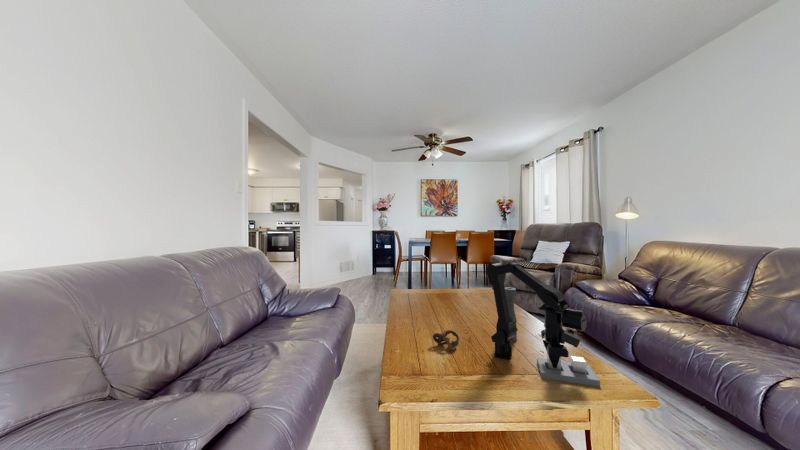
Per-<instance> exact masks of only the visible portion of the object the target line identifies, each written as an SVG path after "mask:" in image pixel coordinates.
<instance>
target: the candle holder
mask: <svg viewBox="0 0 800 450" xmlns="http://www.w3.org/2000/svg"><path fill="white" fill-rule="evenodd" d="M504 287H505V293H506V298H507V304H508V310H509V315H510V318H511V319H512V321H516V323H517V316H516V313H515V303H516V300H515V298H516V296H517V288H515V287H509V286H508V287H507V286H504ZM517 335H518V334H516V335H515V337H513V339H512V340H510V342H517V340H518V336H517Z"/></svg>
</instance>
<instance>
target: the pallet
mask: <svg viewBox="0 0 800 450" xmlns="http://www.w3.org/2000/svg"><path fill="white" fill-rule="evenodd" d="M536 363H537V366H538V370H539V373H540V376H541V379H546V380H553V381H559V382H567V383H572V384H578V385H579V384H580V385H587V386H593V387H601V379H600V378H599V377H598V375H597V374H596V373H595V371H594V369H593V368H592V367H591V365H590V364H588V363H586V374H579V373H572V372H571V361H565V360H561V371H558V370H551V369H548V367H547V358H543V357H536Z"/></svg>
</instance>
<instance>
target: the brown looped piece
mask: <svg viewBox="0 0 800 450" xmlns="http://www.w3.org/2000/svg"><path fill="white" fill-rule="evenodd" d="M450 334H451V335H452V336H454V337H455V338H456V340H454V341H453V340H451V342H450V338H449V337H447V336H448V335H450ZM432 339H433V341H434V342H435V343H437V345H439V346H440V344H441V343H442V342H445V344H446V345H447V347H446V349H447V351H451V350H452V349H454V348H456V347H458V346H459V343H460V341H459V340H460V337H459V335H458V334H457V332H456V331H454V330H451V329H448V330H447V329H446V330H444V331H443V332H442V333H439V332H436V333H433V334H432Z"/></svg>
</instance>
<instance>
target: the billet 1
mask: <svg viewBox="0 0 800 450" xmlns="http://www.w3.org/2000/svg"><path fill="white" fill-rule="evenodd" d="M546 359H547V367H548V369H551V370H558V371H561V361H562V357H560V359H559V362H558V365H557V368H553V366H552V363H551V361H550V358H549V355H548V353H547V352H546Z"/></svg>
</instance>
